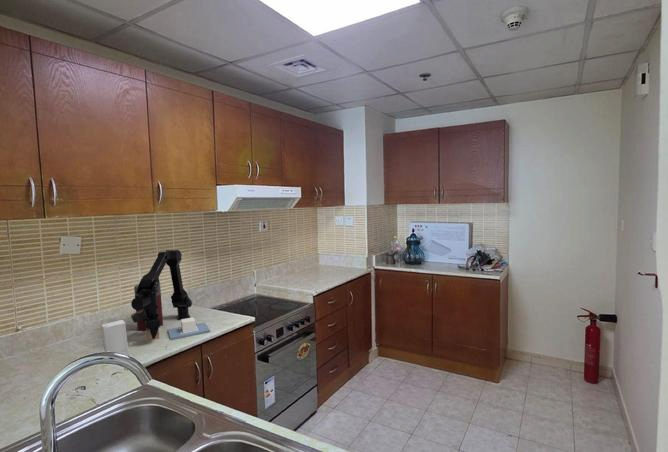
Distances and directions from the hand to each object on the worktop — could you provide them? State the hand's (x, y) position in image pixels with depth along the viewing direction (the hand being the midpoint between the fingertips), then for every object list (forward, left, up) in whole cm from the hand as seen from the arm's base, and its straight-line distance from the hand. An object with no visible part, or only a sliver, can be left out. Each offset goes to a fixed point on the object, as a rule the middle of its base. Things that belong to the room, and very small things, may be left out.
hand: (152, 335), depth 178 cm
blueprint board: (+1, +16, -1) cm, 16 cm away
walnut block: (0, 0, -1) cm, 1 cm away
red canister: (-18, -1, -2) cm, 18 cm away
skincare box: (+15, -15, -2) cm, 21 cm away
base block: (+1, +16, 0) cm, 16 cm away
